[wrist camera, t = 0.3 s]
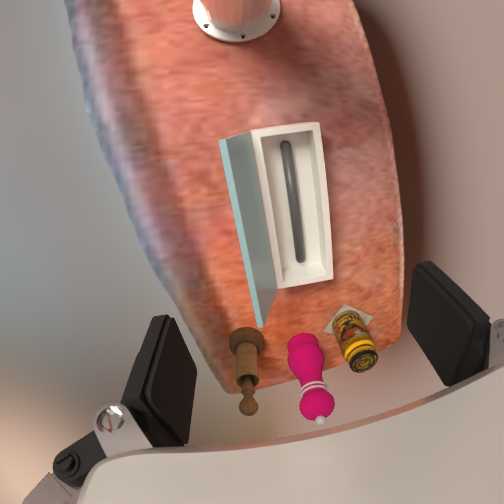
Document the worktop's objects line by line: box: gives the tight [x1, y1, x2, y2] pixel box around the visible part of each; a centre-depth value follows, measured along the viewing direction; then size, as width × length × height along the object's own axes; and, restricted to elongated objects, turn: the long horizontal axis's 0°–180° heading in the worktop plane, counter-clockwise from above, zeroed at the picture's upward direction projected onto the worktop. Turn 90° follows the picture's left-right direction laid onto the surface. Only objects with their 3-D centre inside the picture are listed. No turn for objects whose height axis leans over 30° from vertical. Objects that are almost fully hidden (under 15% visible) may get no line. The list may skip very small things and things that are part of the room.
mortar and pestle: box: [229, 327, 263, 416], centre depth 48 cm, size 7×6×18 cm
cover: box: [219, 131, 277, 328], centre depth 37 cm, size 24×9×1 cm
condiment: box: [324, 305, 378, 373], centre depth 51 cm, size 7×8×12 cm
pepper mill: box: [288, 333, 335, 425], centre depth 49 cm, size 7×7×20 cm
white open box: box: [250, 122, 333, 289], centre depth 42 cm, size 24×9×5 cm, turn 10°
